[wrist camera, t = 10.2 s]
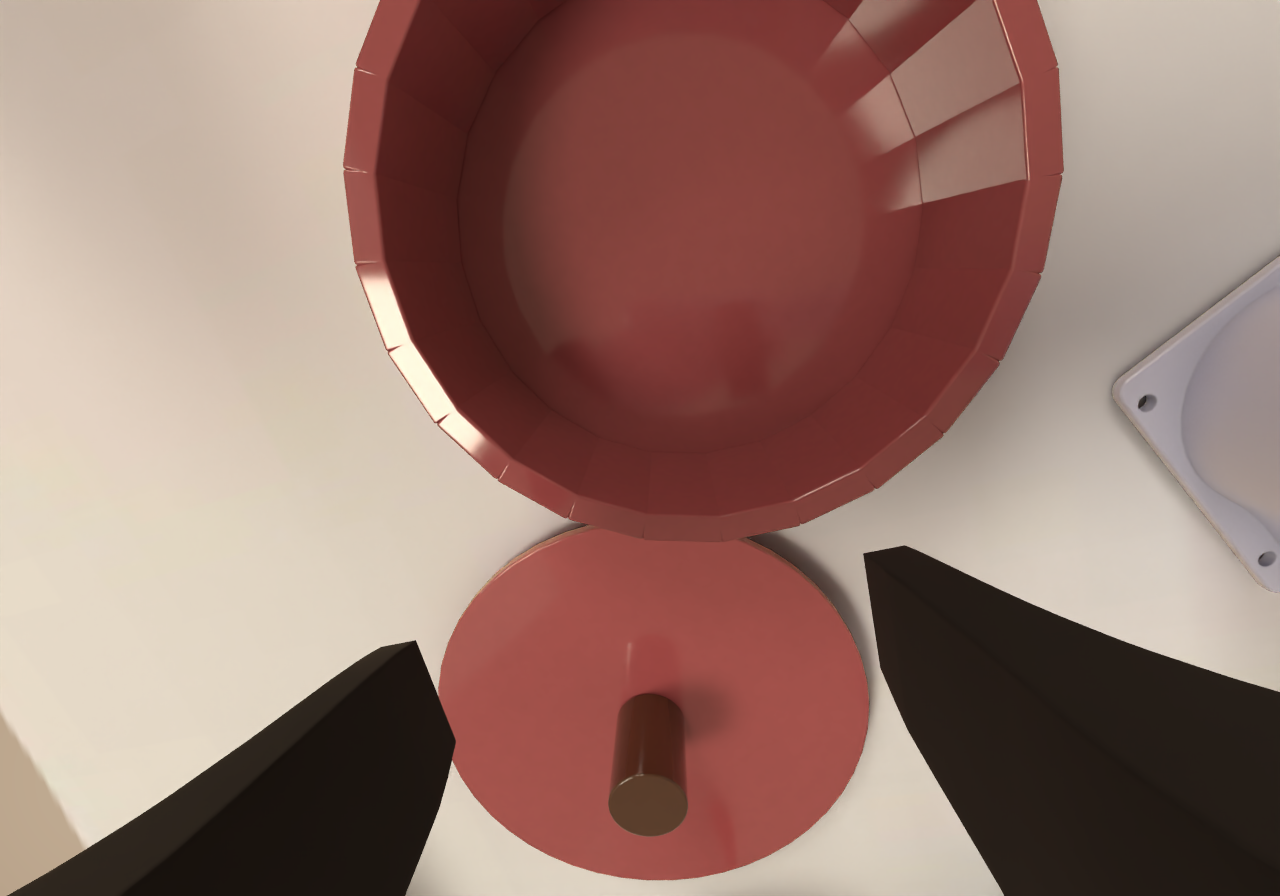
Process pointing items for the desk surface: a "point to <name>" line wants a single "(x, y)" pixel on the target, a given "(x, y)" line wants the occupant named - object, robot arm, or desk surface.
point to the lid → (654, 702)
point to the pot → (701, 239)
